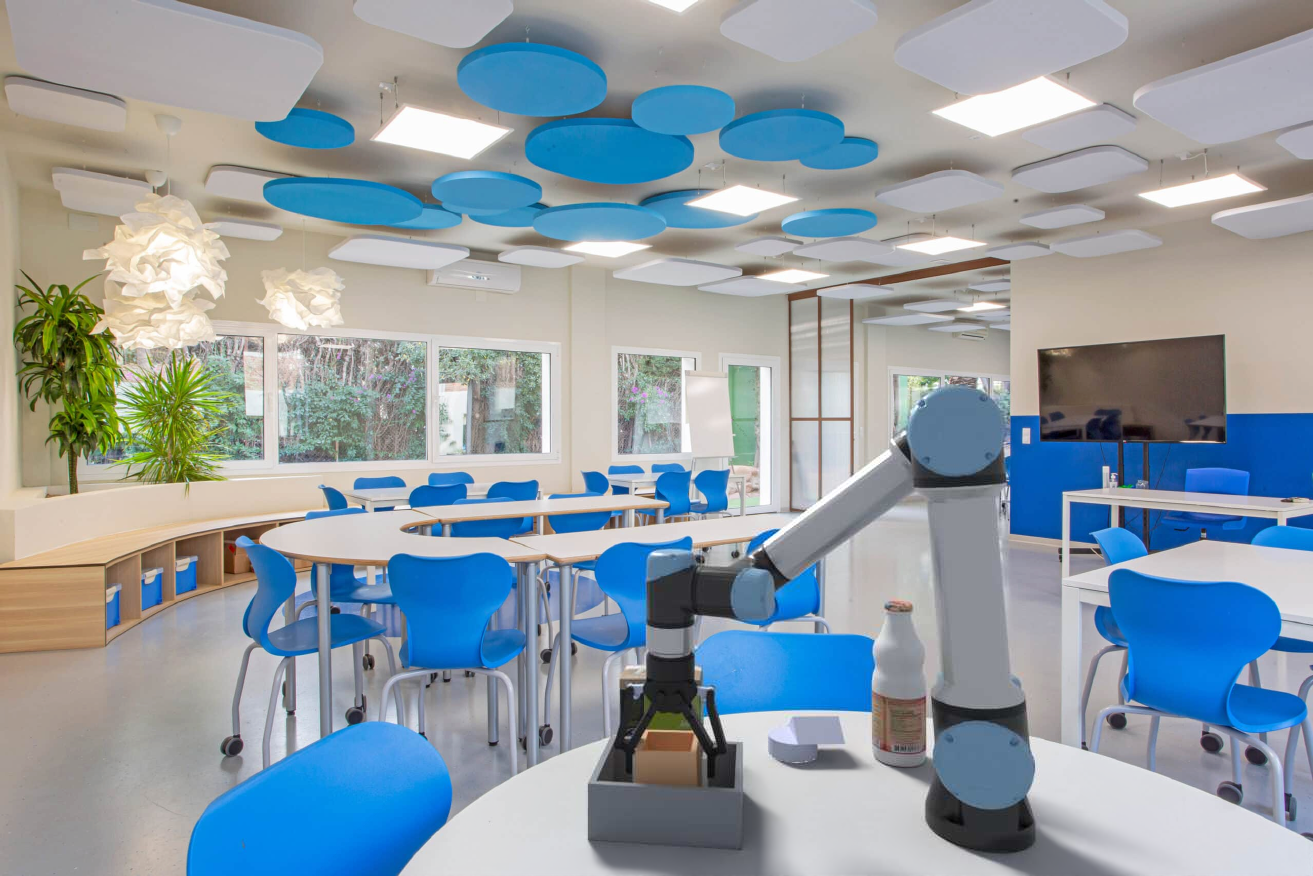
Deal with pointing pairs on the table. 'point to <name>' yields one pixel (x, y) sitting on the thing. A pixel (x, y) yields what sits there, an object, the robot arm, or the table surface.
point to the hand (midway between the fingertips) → (670, 796)
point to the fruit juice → (899, 690)
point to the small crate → (668, 758)
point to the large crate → (667, 804)
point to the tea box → (642, 703)
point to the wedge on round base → (804, 737)
